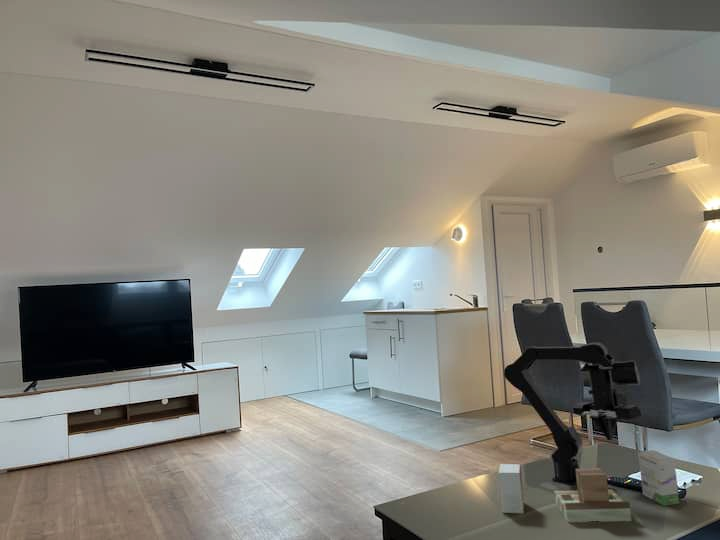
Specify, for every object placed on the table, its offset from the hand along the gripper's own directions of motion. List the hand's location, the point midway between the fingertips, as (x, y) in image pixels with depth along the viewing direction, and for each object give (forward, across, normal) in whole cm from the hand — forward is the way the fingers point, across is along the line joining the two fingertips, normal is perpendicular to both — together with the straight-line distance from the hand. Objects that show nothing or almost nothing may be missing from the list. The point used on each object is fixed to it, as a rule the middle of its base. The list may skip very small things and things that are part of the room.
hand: (610, 440), depth 152 cm
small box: (+12, +8, +34) cm, 37 cm away
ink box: (+14, -13, +1) cm, 19 cm away
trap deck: (+13, -6, +21) cm, 25 cm away
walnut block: (+10, -9, +22) cm, 26 cm away
